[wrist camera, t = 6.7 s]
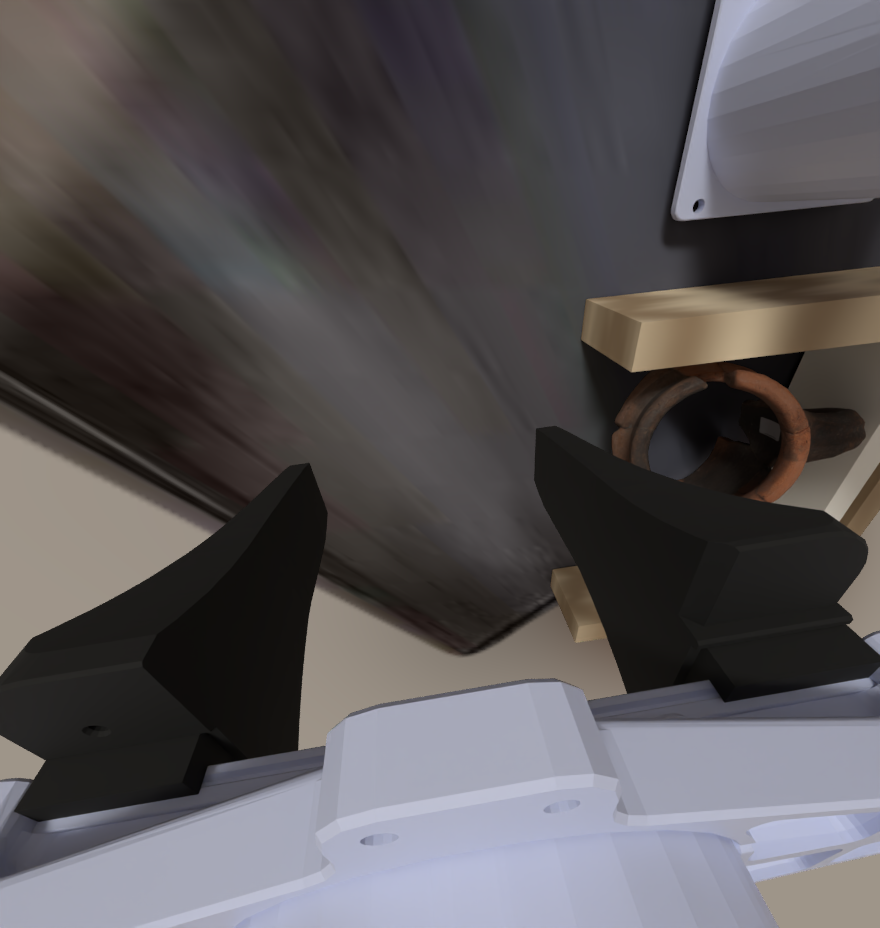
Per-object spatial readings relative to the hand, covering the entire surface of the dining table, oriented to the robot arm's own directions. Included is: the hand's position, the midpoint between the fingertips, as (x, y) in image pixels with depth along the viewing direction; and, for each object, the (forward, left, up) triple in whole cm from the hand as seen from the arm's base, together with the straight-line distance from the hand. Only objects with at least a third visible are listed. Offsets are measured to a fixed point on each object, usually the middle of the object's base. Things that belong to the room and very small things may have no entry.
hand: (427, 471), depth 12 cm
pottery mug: (-17, +6, -10) cm, 21 cm away
